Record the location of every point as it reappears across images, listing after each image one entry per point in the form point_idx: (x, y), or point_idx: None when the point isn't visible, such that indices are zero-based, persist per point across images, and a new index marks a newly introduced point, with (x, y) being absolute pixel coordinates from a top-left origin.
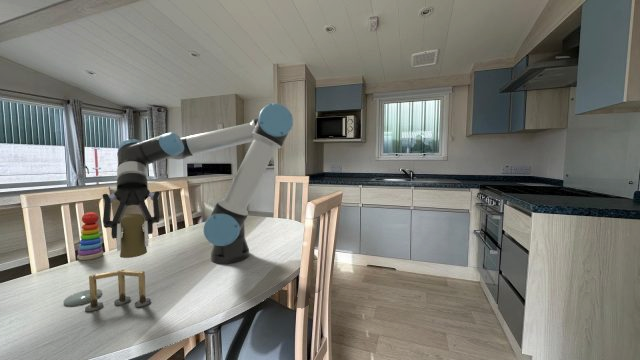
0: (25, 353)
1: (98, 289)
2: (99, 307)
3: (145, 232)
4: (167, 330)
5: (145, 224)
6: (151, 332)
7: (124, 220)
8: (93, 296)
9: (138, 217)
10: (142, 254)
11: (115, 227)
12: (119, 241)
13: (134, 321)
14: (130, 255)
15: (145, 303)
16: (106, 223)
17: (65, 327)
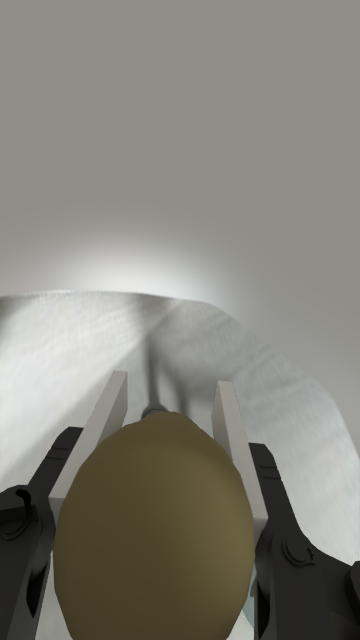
0: (306, 375)
1: (248, 618)
2: None
3: (107, 406)
4: (139, 301)
5: (81, 460)
6: (158, 311)
7: (222, 450)
8: None
9: (113, 445)
10: (140, 420)
11: (269, 504)
12: (224, 392)
13: (176, 361)
14: (179, 415)
15: (152, 411)
16: (354, 568)
17: (275, 424)
